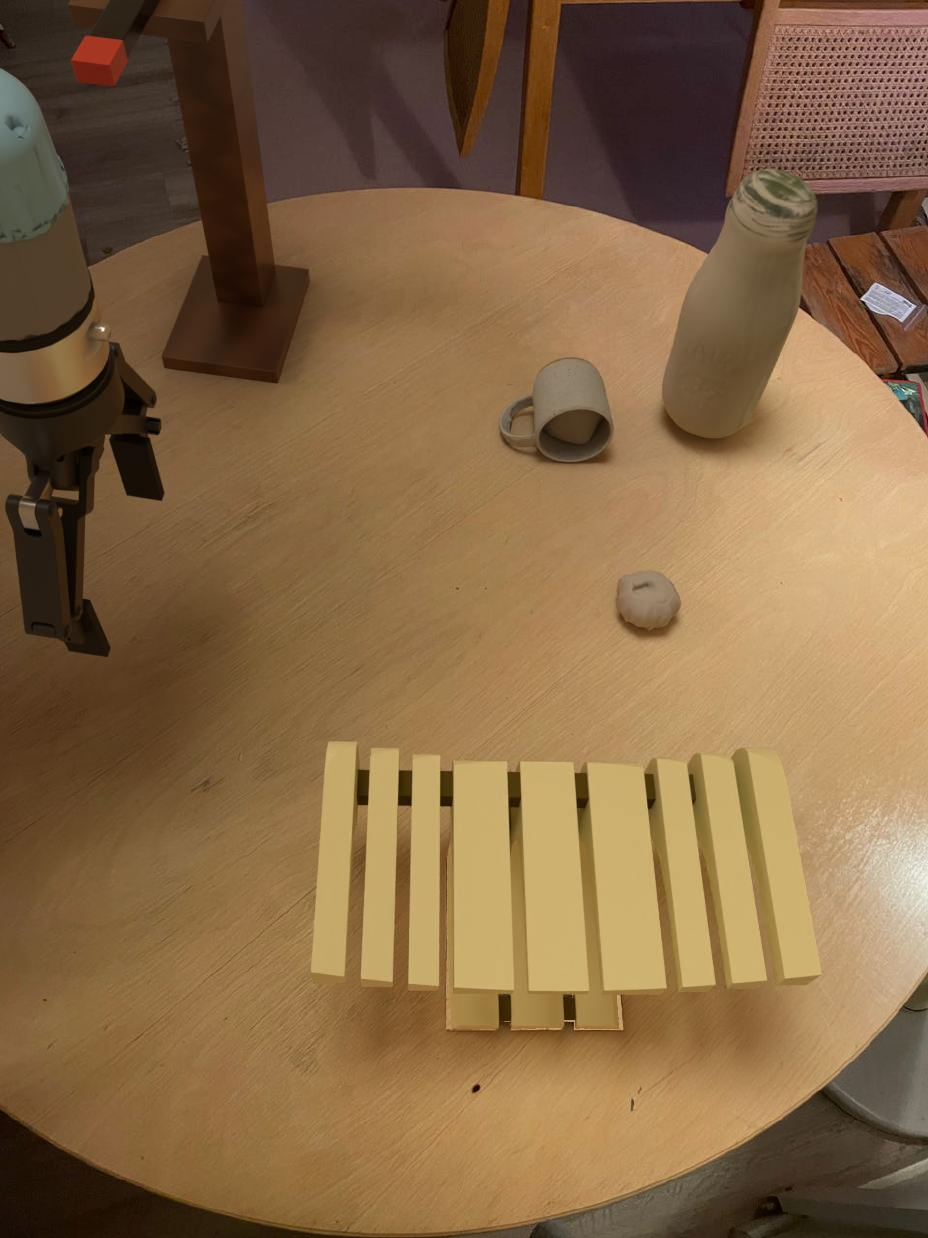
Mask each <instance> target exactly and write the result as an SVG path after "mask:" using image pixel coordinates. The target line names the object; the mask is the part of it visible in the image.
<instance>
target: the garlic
mask: <svg viewBox="0 0 928 1238" xmlns="http://www.w3.org/2000/svg"><path fill="white" fill-rule="evenodd" d="M616 596H617V599H616V608H617V610H618V611H619V612H620V614H621V616H622V617H623V619H624V621H625V622H626V623H630V624H632V625H634V626H636V627H637V628H644V629H647V630H648V631H651V630H653V629H655V628H656V629H657V628H663V627H665V626H667V625H668V624H669V623H670V621H671V619H672V618H673V617H675V616H676V615H677V614H678V613H679V612H680V609H681V607H682V600H681V597H680V595H679V592H678V591H677V589H676V587H675V585H674V583H673V582H672V580H670V579H668V578H667V576H666V575H664V573H662V572H659V571H656V570H647V571H644V570H638V571H636V572H634V573H632V574H627V575H626V574H625V575H623V576H620V577H619V579H618V581H617V585H616Z"/></svg>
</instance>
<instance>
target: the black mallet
mask: <svg viewBox="0 0 928 1238" xmlns="http://www.w3.org/2000/svg"><path fill="white" fill-rule="evenodd" d="M158 2H159V0H110V1H109V2H108V4H107V6H106V7H105V9H104V11H103V12H102V14H101V16H100V18H99V19H98V21H97V23H96V24H95V26H94V28H93V29H92V28H91V31H90V33H89V34H88V35H85V36H84V38H83V39H82V40H81V43H79V44H80V45H79V46H78V47H77V50H75V52H74V54H73V56H72V58H71V59H70V61H71V65H72V69H73V72H74V76H75V79H76V82H79V83H85V84H93V85H101V86H109V87H115V86H116V84H117V82H118V81H119V79H120V77H121V75H122V73H123V71H124V70H125V68H126V66H127V64H128V62H129V60H128V59H129V57H130V56H131V53H132V51H133V49H134V48H135V46H136V44H137V42H138V40H139V39H140V37H141V36H142V35H141V33H142V31H143V29H144V28H145V26H146V24H147V22H148V20H149V18H150V17H151V15H152V13H153V11H154V9H155V7H156V6H157V4H158Z"/></svg>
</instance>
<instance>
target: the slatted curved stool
mask: <svg viewBox="0 0 928 1238" xmlns="http://www.w3.org/2000/svg"><path fill="white" fill-rule="evenodd" d="M369 757H370V758H369V769H361V762H360V761H361V760H360V750H359V742H358V741H341V740H337V741H336V740H335V741H334V740H331V741H330V740H329V741H328V744H327V746H326V752H325V762H324V773H323V789H322V800H321V818H320V829H319V830H320V832H319V845H318V846H319V847H318V863H317V874H316V875H317V876H316V888H315V889H316V890H315V891H316V892H315V906H314V920H313V932H312V933H313V935H312V936H313V937H312V947H311V948H312V949H311V965H310V974H311V977H312V980H313V984H346V983H347V981H346V980H347V964H348V946H349V927H350V910H351V909H350V907H351V891H352V877H353V875H352V874H353V860H354V846H355V836H356V835H355V834H356V827H357V826H358V816H359V815H358V813H359V806H367V822H366V825H367V827H366V847H365V867H364V868H365V871H364V891H363V892H364V893H363V894H364V895H363V914H362V915H363V916H362V940H361V958H360V959H361V961H360V964H361V965H360V983H361V984H360V985H361V987H362V988H393V986H394V955H395V954H394V953H395V919H396V917H395V916H396V885H397V854H398V853H397V851H398V829H399V807H411V812H410V813H411V817H410V818H411V819H410V820H411V821H410V871H409V872H410V875H409V921H408V925H409V926H408V970H407V973H408V974H407V976H408V977H407V978H408V979H407V991H423V992H424V991H426V992H427V991H434V992H435V991H437V992H439V988H440V892H441V891H440V888H441V887H440V886H441V885H440V883H441V881H440V876H441V873H440V871H441V869H440V865H441V862H440V859H441V807H449V810H450V811H449V841H450V842H449V845H448V849H447V853H448V854H447V853H446V858H447V857H448V858H447V860H448V861H447V868H448V869H447V871H448V873H447V875H448V877H447V878H448V882H447V883H448V886H447V887H448V890H447V893H448V894H447V896H448V897H447V898H448V899H447V901H448V903H447V906H448V908H447V911H448V913H447V914H448V917H447V918H448V919H447V920H448V922H447V925H448V927H447V930H448V932H447V933H448V934H447V935H448V939H447V940H448V943H447V944H448V947H449V948H447V949H448V953H449V954H448V958H449V960H448V961H449V962H448V963H449V966H448V968H449V978H450V979H449V989H450V992H449V994H450V1000H449V1001H450V1004H451V1005H450V1009H451V1013H450V1015H451V1026H452V1029H497V1030H498V1029H499V1027H500V1022H499V1021H510V1022H509V1026H510V1025H511V1029H522V1028H524V1029H536V1028H546V1029H549V1028H562V1029H563V1028H564V1027H565V1023H564V1020H575V1028H576V1029H580V1028H584V1029H589V1028H590V1029H620V1028H619V1021H618V1020H619V1017H618V1006H617V1005H618V1004H617V995H622V996H623V995H627V996H628V995H629V996H630V995H632V996H634V995H637V996H638V995H639V996H643V995H644V996H648V995H650V996H652V995H653V996H660V995H662V994H663V992H665V991H666V989H668V988H667V978H666V977H667V975H666V967H665V959H664V950H663V949H664V947H663V941H662V929H661V921H660V911H659V903H658V901H659V900H658V893H657V892H658V891H657V883H656V873H655V865H654V854H653V846H652V844H654V846H655V849H656V851H657V855H658V859H659V864H660V870H661V874H662V880H663V885H664V893H665V899H666V906H667V912H668V920H669V925H670V934H671V935H670V936H671V942H672V950H673V952H672V953H673V958H674V959H673V960H674V967H675V976H676V985H677V992H678V993H679V992H681V993H682V992H687V993H688V992H690V993H691V992H692V993H698V992H699V993H705V992H706V993H707V992H710V990H711V989H713V988H714V987H715V986H716V985H717V982H716V976H715V969H714V961H713V951H712V947H711V946H712V945H711V938H710V930H709V923H708V914H707V907H706V900H705V892H704V891H705V890H704V884H703V875H702V869H701V868H702V867H701V861H700V853H699V845H700V848H701V851H702V855H703V857H704V861H705V862H704V863H705V865H706V869H707V870H706V871H707V875H708V880H709V885H710V890H711V896H712V902H713V908H714V912H715V919H716V926H717V932H718V938H719V944H720V946H719V947H720V952H721V960H722V966H723V974H724V980H725V988H726V989H747V990H749V989H753V990H754V989H758V988H759V987H760V986H762V985H763V984H764V983H766V982H767V981H768V976H767V971H766V964H765V963H766V962H765V958H764V957H765V956H764V951H763V945H762V938H761V937H762V936H761V932H760V925H759V918H758V912H757V905H756V899H755V893H754V886H753V879H752V874H751V868H750V867H751V866H750V861H749V860H750V859H751V863H752V867H753V870H754V876H755V879H756V883H757V888H758V893H759V897H760V903H761V907H762V913H763V919H764V924H765V929H766V934H767V940H768V947H769V951H770V958H771V963H772V969H773V976H774V981H775V986H807V985H809V984H810V983H812V982H813V981H815V980H816V979H818V978H819V977H822V975H823V973H822V968H821V967H822V966H821V961H820V956H819V950H818V946H817V940H816V935H815V929H814V924H813V918H812V917H813V916H812V913H811V908H810V902H809V901H810V900H809V897H808V891H807V885H806V880H805V875H804V869H803V863H802V858H801V853H800V847H799V841H798V837H797V831H796V824H795V820H794V814H793V809H792V803H791V798H790V791H789V787H788V782H787V777H786V773H785V770H784V766H783V763H782V761H781V759H780V757H779V755H778V754H777V752H776V751H775V750H774V749H773V748H770V747H739V748H737V749H736V750H735V751H734V752H733V754H732V755H731V756H730V755H729V754H727V753H726V752H695V753H693V754H692V755H691V758H690V759H689V761H688V762H687V761H686V759H684V758H683V757H652V758H651V759H650V760H649V762H648V764H647V766H646V768H645V769H644V767H643V765H642V764H641V763H640V762H615V761H614V762H611V761H610V762H607V761H606V762H604V761H601V762H598V761H585V762H583V764H582V766H581V768H580V771H579V772H575V762H573V761H540V760H539V761H538V760H537V761H536V760H534V761H533V760H530V761H529V760H518V762H517V765H516V768H515V771H508V761H507V760H473V759H471V760H470V759H467V760H466V759H452V761H451V770H441V754H439V753H437V754H436V753H413V754H412V768H411V769H407V770H405V769H400V748H399V747H371V748H370V756H369ZM652 842H653V843H652ZM698 843H699V845H698ZM748 853H749V854H748ZM447 855H448V856H447ZM749 856H750V859H749ZM572 994H573V998H572V997H566V996H565V997H564V995H572ZM499 995H508V996H499ZM509 996H510V997H509Z"/></svg>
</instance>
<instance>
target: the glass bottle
mask: <svg viewBox="0 0 928 1238" xmlns="http://www.w3.org/2000/svg"><path fill="white" fill-rule="evenodd" d="M818 203H819V202H818V199H817V196H816V194H815V193H814V190H813V189H812V187H810V186H809V184H808V183H806V182H805V180H803V179H802V178H801V177H799V176H797V175H796V174H794V173H792V172H789V171H786V170H782V169H778V168H772V167H771V168H768V167H767V168H763V169H758V170H756V171H753V172H752V173H750V174H748V175H745V176H744V177H742V180H741V181H740V183H739V185H738V186H737V188H736V189H735V191H734V193H733V194H732V197H731V199H730V200H729V202H728V203H727V207H726V210H725V214H724V221H723V226H722V228H721V230H720V233H719V235H718V238H717V240H716V243H715V244H714V245H713V246H712V247H711V249H710V251H709V253H708V254H707V256H706V257H705V259H704V260H703V262H702V264H701V266H700V267H699V268H698V269H697V271H696V273H695V275H694V277H693V278H692V280H691V281H690V283H689V286H688V287H687V289H686V293H685V295H684V299H683V301H682V304H681V308H680V311H679V312H680V313H679V317H678V321H677V324H676V329H675V333H674V338H673V342H672V346H671V349H670V351H669V356H668V359H667V362H666V365H665V368H664V373H663V378H662V384H661V396H662V402H663V405H664V408H665V410H666V412H667V414H668V416H669V417H670V418H671V420H672V421H673V422H674V423H675V424H676V425H677V426H678V427H679V428H681V429H682V430H683V431H685V432H687V433H689V434H691V435H694V436H697V437H701V438H704V439H706V438H707V439H722V438H726V437H729V436H731V435H733V434H735V433H737V432H738V431H740V430H741V429H742V428H744V427H745V426H746V425H748V424H749V422H750V420H751V419H752V416H753V414H754V413H755V411H756V409H757V407H758V405H759V403H760V401H761V399H762V396H763V395H764V393H765V391H766V388H767V385H768V383H769V381H770V379H771V376H772V374H773V372H774V369H775V368H776V365H777V363H778V361H779V358H780V356H781V353H782V351H783V349H784V346H785V345H786V342H787V339H788V337H789V335H790V333H791V330H792V328H793V325H794V324H795V321H796V318H797V316H798V312H799V310H800V305H801V298H802V293H803V280H804V279H803V277H804V276H803V275H804V274H803V273H804V272H803V271H804V260H805V254H806V248H807V242H808V239H809V237H810V236H811V234H812V232H813V230H814V227H815V224H816V218H817V215H818V209H819V206H818V205H819V204H818Z"/></svg>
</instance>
